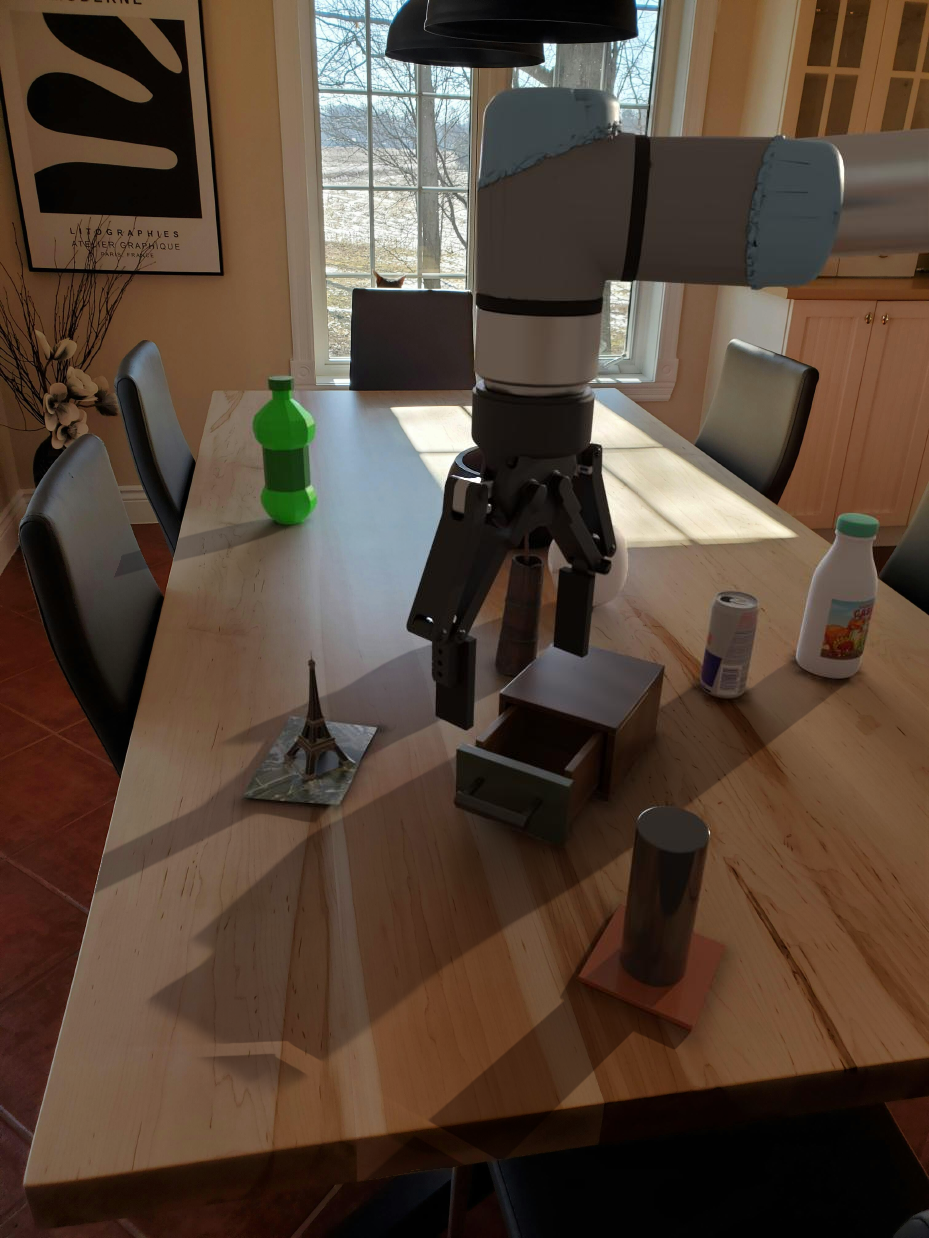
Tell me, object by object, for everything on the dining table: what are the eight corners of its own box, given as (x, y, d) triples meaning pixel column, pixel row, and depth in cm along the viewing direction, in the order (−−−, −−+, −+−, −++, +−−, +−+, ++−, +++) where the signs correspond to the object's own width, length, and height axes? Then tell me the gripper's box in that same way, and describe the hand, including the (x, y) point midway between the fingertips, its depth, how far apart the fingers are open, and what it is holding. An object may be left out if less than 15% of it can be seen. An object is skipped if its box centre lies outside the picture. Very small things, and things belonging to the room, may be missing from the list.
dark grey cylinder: (695, 951, 71) (718, 820, 66) (674, 997, 67) (698, 861, 62) (632, 926, 74) (650, 797, 68) (609, 969, 70) (626, 836, 64)
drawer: (543, 875, 78) (548, 812, 75) (432, 831, 83) (432, 771, 80) (617, 772, 92) (623, 716, 89) (517, 740, 97) (520, 686, 94)
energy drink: (706, 673, 113) (720, 586, 108) (749, 684, 111) (765, 596, 106) (693, 691, 109) (707, 602, 104) (738, 704, 107) (754, 613, 101)
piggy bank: (531, 591, 135) (536, 495, 128) (602, 582, 138) (610, 489, 132) (564, 626, 124) (572, 524, 118) (640, 616, 128) (652, 516, 121)
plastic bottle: (327, 512, 165) (320, 374, 154) (305, 532, 155) (296, 386, 145) (276, 507, 167) (266, 370, 156) (251, 526, 157) (238, 381, 147)
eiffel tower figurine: (289, 719, 102) (281, 612, 96) (377, 727, 100) (374, 620, 95) (242, 800, 88) (229, 682, 82) (342, 811, 87) (336, 692, 81)
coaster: (725, 949, 72) (726, 944, 72) (692, 1031, 65) (692, 1026, 65) (619, 907, 76) (620, 903, 76) (577, 980, 69) (577, 975, 69)
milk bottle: (791, 671, 114) (821, 522, 105) (798, 646, 120) (827, 504, 112) (856, 685, 111) (892, 533, 102) (860, 659, 117) (895, 513, 109)
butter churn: (564, 688, 109) (582, 464, 97) (486, 690, 108) (494, 464, 96) (552, 652, 117) (567, 441, 105) (479, 653, 117) (486, 441, 104)
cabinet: (608, 801, 89) (616, 728, 85) (496, 763, 95) (499, 692, 91) (656, 732, 101) (665, 665, 97) (553, 701, 106) (558, 637, 102)
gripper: (593, 351, 66) (571, 612, 75) (340, 403, 48) (352, 734, 58) (686, 365, 61) (650, 641, 71) (445, 428, 44) (439, 782, 53)
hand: (516, 683), depth 64 cm, fingers open, 13 cm apart
